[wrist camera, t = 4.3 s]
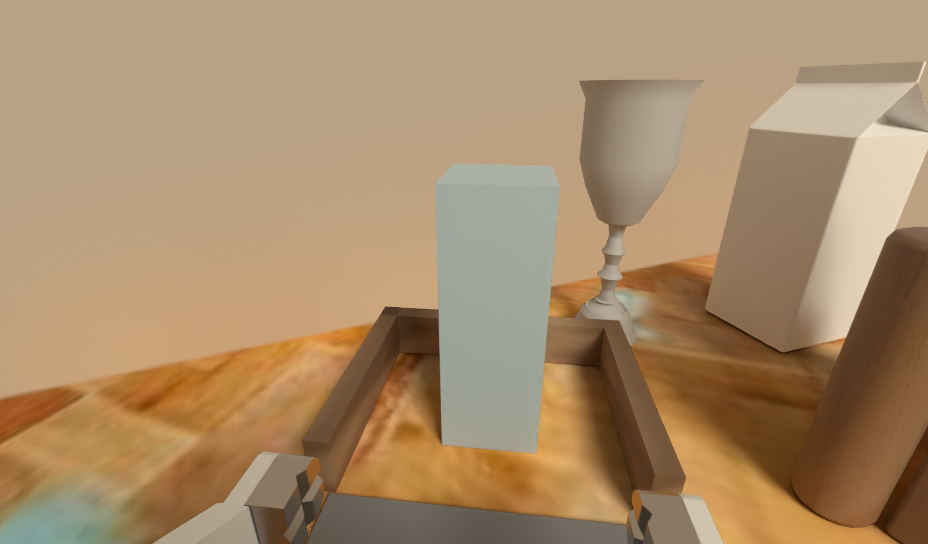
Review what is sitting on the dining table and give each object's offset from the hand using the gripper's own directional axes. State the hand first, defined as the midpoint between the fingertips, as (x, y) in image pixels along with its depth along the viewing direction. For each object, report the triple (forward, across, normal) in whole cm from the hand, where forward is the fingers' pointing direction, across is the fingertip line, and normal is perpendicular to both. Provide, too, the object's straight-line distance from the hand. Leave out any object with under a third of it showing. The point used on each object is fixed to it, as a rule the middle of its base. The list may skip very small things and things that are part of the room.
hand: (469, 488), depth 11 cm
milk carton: (+25, -22, +8) cm, 35 cm away
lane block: (+12, 0, +8) cm, 14 cm away
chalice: (+22, -8, +8) cm, 25 cm away
